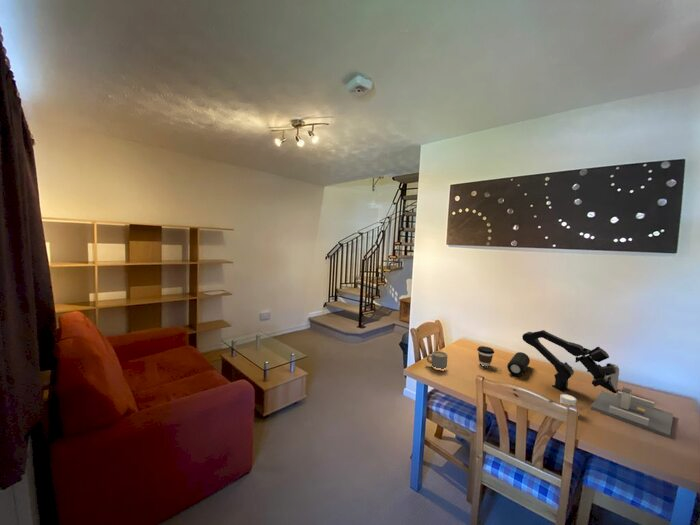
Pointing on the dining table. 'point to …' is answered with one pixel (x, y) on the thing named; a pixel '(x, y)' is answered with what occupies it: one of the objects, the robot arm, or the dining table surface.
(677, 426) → the dining table surface
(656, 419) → the breaker panel
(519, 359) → the portable speaker
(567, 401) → the white cylinder
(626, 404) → the beige rectangular block
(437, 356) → the coffee mug
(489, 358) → the coffee cup
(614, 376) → the energy drink can
